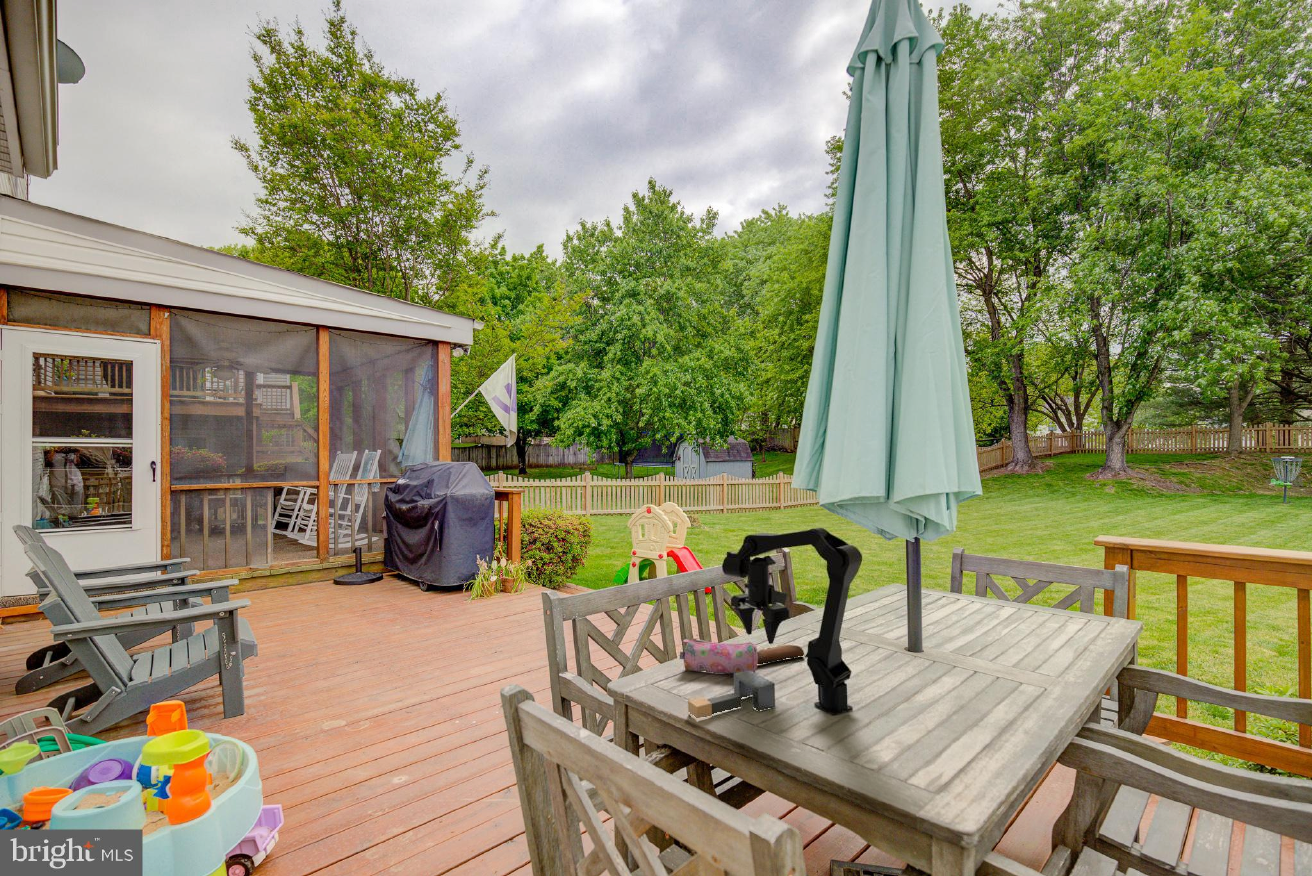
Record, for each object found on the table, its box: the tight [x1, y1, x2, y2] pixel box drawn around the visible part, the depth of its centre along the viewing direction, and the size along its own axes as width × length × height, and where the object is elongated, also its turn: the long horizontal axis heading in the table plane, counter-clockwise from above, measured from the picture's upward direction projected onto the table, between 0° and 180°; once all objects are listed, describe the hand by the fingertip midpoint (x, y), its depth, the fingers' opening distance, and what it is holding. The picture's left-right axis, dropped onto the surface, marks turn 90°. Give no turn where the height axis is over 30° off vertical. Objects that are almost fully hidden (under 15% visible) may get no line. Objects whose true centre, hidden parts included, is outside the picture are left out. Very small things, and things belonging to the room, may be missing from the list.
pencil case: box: [679, 638, 758, 674], centre depth 158 cm, size 21×9×9 cm, turn 72°
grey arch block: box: [733, 670, 776, 712], centre depth 138 cm, size 10×5×6 cm, turn 27°
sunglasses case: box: [757, 644, 805, 664], centre depth 168 cm, size 18×7×7 cm, turn 113°
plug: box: [687, 692, 742, 718], centre depth 133 cm, size 4×13×4 cm, turn 117°
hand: (759, 638), depth 150 cm, fingers open, 9 cm apart
